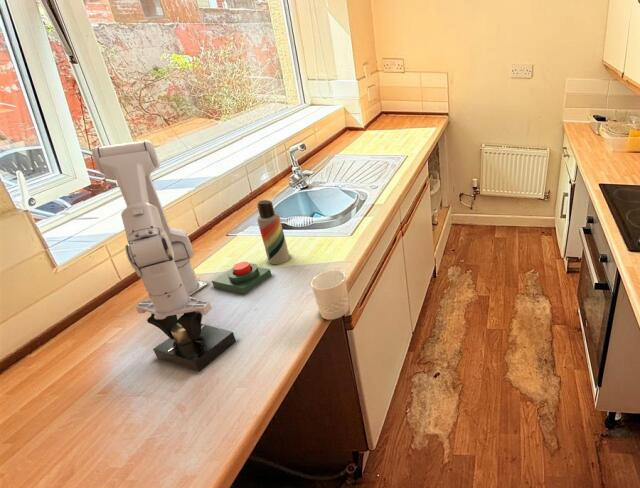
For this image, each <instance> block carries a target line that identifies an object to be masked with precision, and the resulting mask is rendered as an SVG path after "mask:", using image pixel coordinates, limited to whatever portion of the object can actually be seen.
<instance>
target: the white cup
mask: <svg viewBox="0 0 640 488" xmlns="http://www.w3.org/2000/svg"><path fill="white" fill-rule="evenodd" d="M310 285H311V288H312V292H313V296H314V298H315V302H316V305H317V308H318V310H319V313H320V316H321V318H322V319H325V320H327V321H329V320H331V321H333V320H336V319H340V318H342V317H344V316H345V315H347V313H348V312H349V308H350V303H349V292H348V285H347V277H346V273H345V272H343V271H342V270H338V269H332V270H331V269H329V270H326V271H323V272H320V273H318V274H317V275H315V276H314V277H313V278H312V280H311V281H310Z"/></svg>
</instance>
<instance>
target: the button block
mask: <svg viewBox="0 0 640 488" xmlns="http://www.w3.org/2000/svg"><path fill="white" fill-rule="evenodd" d="M249 263H250V262H249ZM250 267H251V271H250V272H248V273H246V274H243V275H235V274H234V271H233V267H231V268H230V269H228V270H227V271H225V272H223V273H222V274H220V275H218V276H217V277H216V278H214V279H212V280H211V284H212V286H213V288H216V289H220V290H224V291H229V292H232V293H236V294H240V295H247V294H248V293H250V292H251V291H252V290H254V289H256V288H257V287H258V286H260V285H261V284H263V282H265V281H266V280H268V279H269V278H271V277H272V271H271V269H268V268H264V267H259V266H258V265H257V264H255V263H250Z"/></svg>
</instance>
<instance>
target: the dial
mask: <svg viewBox="0 0 640 488" xmlns="http://www.w3.org/2000/svg"><path fill="white" fill-rule="evenodd" d="M171 333H172V335H173V337H174V339H175V342H176V344H178V345H183V344H187V343H189V342H191V341H193V340H191V339H190V337H189V336H188V334H187V332H186V330H185V329H184V328H183V327H182V326H181V325H180V324H179V323H177V324H175V325H174V326H173V327H172V328H171Z"/></svg>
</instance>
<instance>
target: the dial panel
mask: <svg viewBox="0 0 640 488" xmlns="http://www.w3.org/2000/svg"><path fill="white" fill-rule="evenodd" d="M235 343H237V340H236V336H235V334H234V331H231V330H227V329H223V328H219V327H217V326H212V325H208V324H205V323H201V335H200V336H199V337H198V338H197V339H196V340H193V341H191V342H189V343H187V344H183V345H178V344H176V342H175V340H171V339H170V338H169V337H168V338H166V339H165V340H164V341H162V342H161V343H160V344H158V345H157V346H155V347H154V348H152V350H153V353H154V354H155V355H154V356H155V357H156V360H159V361H162V362H165V363H169V364H172V365H175V366H179V367H182V368H185V369H188V370H192V371H195V372H198V373H199V372H202V370H204V369H205V368H206V367H207V366H208V365H210V364H211V363H212V362H214V361H215V360H216V359H217V358H219V357H220V356H221V355H222V354H223V353H224V352H226V351H227V350H228V349H229V348H230V347H232V346H233V345H235Z"/></svg>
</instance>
